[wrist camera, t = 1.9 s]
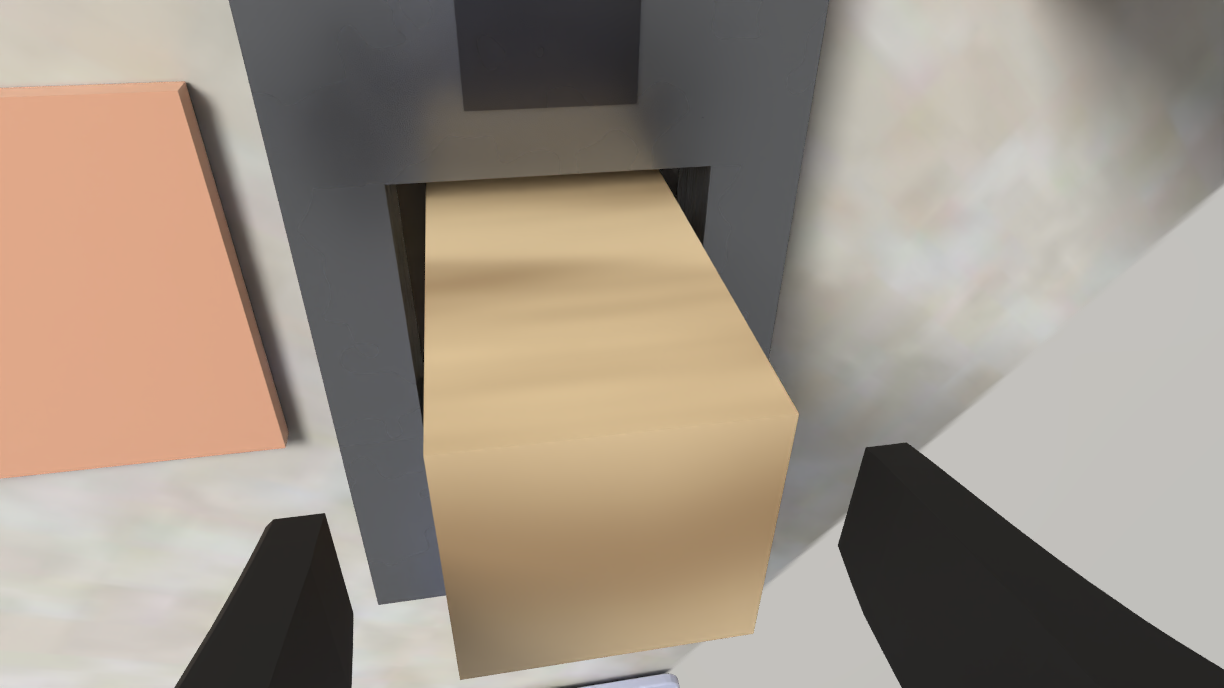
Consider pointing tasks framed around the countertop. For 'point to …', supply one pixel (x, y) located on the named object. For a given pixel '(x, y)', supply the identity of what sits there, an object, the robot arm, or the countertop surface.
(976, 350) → the countertop surface
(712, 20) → the square hole bar
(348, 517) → the countertop surface
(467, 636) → the wooden peg
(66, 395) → the tile
